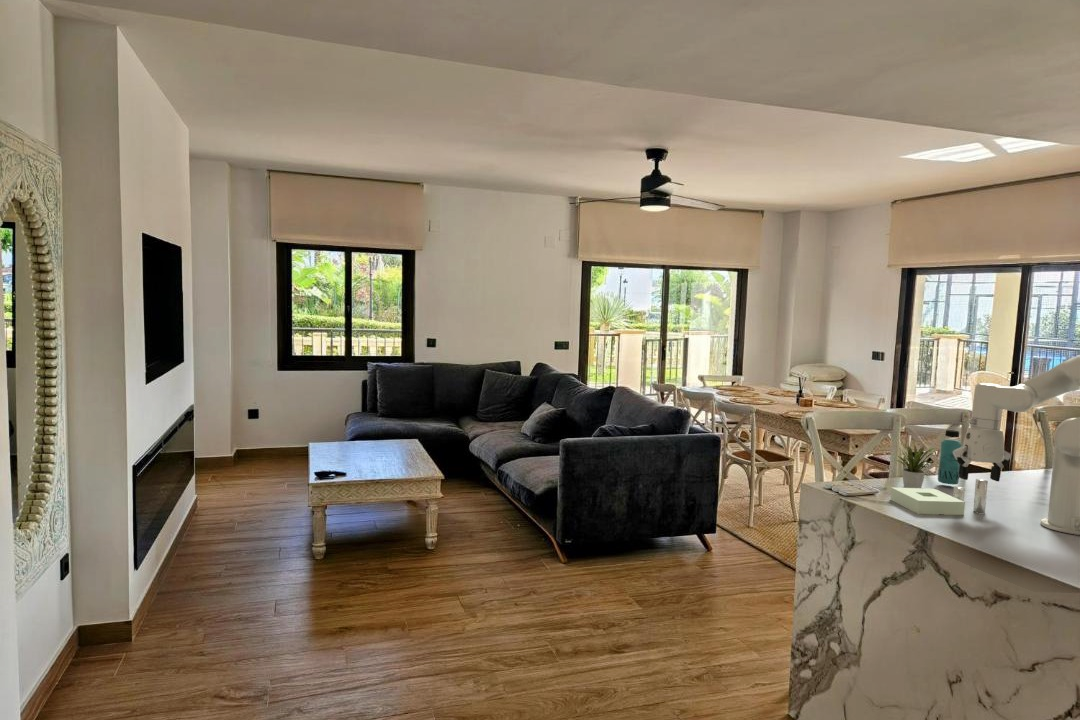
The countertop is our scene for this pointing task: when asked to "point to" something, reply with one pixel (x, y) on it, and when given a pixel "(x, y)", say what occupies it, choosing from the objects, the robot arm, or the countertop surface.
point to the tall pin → (980, 495)
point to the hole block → (927, 501)
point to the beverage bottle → (949, 459)
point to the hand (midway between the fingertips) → (978, 479)
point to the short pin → (959, 493)
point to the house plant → (914, 467)
